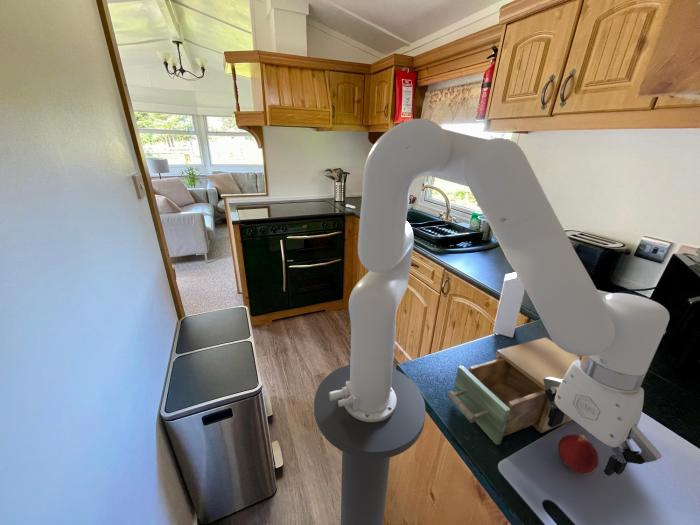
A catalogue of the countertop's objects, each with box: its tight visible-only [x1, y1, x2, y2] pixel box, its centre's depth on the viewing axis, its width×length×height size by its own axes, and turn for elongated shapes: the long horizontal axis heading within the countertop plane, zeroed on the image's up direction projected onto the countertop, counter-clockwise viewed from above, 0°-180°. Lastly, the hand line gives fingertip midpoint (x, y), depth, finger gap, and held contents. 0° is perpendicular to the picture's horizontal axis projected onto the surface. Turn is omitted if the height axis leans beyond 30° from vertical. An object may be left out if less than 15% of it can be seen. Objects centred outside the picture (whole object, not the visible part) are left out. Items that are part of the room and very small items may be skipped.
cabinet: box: [494, 337, 580, 434], centre depth 68 cm, size 17×14×11 cm
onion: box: [557, 433, 600, 475], centre depth 53 cm, size 6×6×8 cm
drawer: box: [446, 358, 548, 446], centre depth 63 cm, size 20×13×9 cm, turn 111°
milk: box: [492, 271, 526, 338], centre depth 93 cm, size 6×6×22 cm
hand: (580, 446), depth 52 cm, fingers open, 9 cm apart
